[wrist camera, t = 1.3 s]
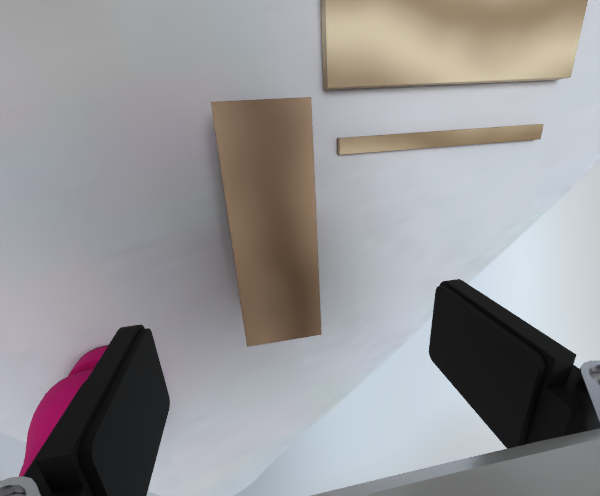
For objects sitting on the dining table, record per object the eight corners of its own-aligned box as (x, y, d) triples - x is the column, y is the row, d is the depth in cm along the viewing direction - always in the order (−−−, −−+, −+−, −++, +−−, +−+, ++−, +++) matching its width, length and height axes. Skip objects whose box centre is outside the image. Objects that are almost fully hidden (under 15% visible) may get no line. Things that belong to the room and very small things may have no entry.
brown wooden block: (245, 304, 28) (247, 346, 22) (218, 110, 22) (210, 101, 16) (305, 295, 28) (321, 334, 23) (293, 106, 23) (311, 97, 17)
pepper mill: (150, 408, 29) (-5, 875, 11) (64, 400, 27) (-305, 952, 9) (165, 347, 27) (7, 786, 9) (74, 333, 25) (-374, 860, 7)
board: (318, -89, 19) (323, -104, 18) (588, -78, 22) (608, -90, 21) (325, 155, 24) (329, 156, 23) (544, 138, 27) (557, 138, 26)
